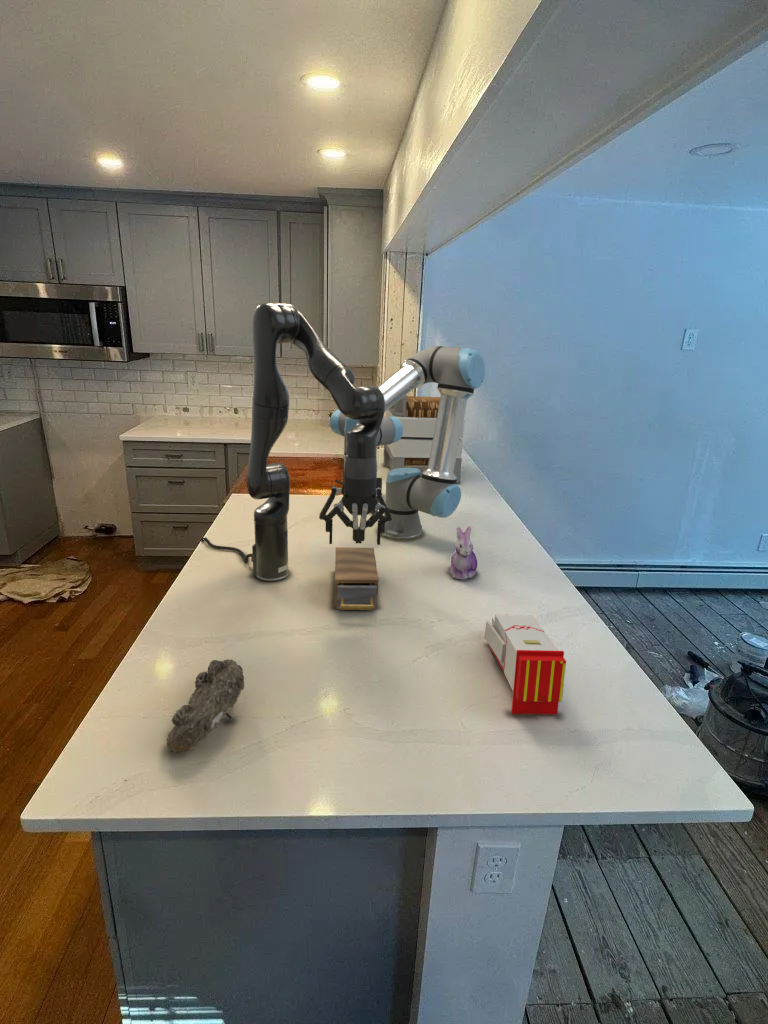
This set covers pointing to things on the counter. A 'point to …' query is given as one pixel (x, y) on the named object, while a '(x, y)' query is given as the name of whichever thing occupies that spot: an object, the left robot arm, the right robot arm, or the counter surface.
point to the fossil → (206, 705)
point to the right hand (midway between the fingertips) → (354, 542)
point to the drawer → (356, 596)
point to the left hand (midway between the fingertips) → (358, 542)
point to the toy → (527, 663)
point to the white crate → (416, 433)
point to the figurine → (463, 556)
